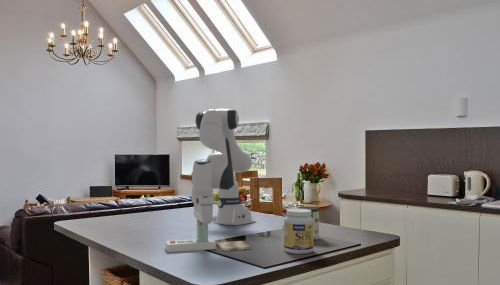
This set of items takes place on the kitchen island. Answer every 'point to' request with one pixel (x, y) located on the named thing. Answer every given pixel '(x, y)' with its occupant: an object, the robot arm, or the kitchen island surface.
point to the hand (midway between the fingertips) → (202, 230)
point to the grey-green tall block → (201, 234)
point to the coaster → (233, 245)
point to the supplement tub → (298, 231)
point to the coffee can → (316, 220)
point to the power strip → (189, 245)
